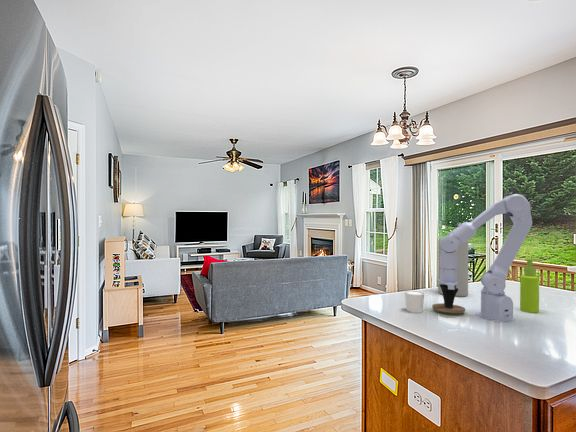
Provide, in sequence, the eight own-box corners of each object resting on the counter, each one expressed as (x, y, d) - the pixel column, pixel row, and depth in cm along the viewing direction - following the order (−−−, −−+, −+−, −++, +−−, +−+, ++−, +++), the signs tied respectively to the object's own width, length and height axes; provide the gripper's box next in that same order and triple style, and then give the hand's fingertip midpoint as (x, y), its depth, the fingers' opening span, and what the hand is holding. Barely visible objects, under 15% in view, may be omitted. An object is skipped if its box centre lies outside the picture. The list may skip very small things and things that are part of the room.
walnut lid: (472, 311, 122) (472, 302, 122) (447, 314, 119) (447, 305, 119) (449, 304, 132) (449, 295, 132) (425, 306, 129) (425, 297, 129)
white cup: (427, 314, 124) (427, 295, 124) (408, 314, 124) (408, 294, 124) (420, 309, 131) (420, 291, 131) (402, 308, 131) (402, 290, 131)
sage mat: (474, 316, 122) (474, 315, 122) (446, 318, 118) (446, 317, 118) (449, 307, 133) (449, 306, 133) (423, 309, 130) (423, 308, 130)
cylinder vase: (474, 295, 153) (474, 240, 153) (453, 298, 149) (454, 241, 149) (451, 290, 165) (452, 238, 165) (432, 292, 160) (432, 239, 160)
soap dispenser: (545, 313, 126) (545, 259, 126) (524, 312, 127) (524, 259, 127) (537, 309, 132) (537, 257, 132) (517, 308, 133) (517, 257, 133)
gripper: (434, 265, 134) (434, 299, 134) (438, 271, 120) (438, 309, 120) (454, 266, 132) (454, 301, 132) (461, 272, 118) (460, 311, 118)
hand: (448, 305), depth 126 cm, fingers closed on walnut lid, 3 cm apart
